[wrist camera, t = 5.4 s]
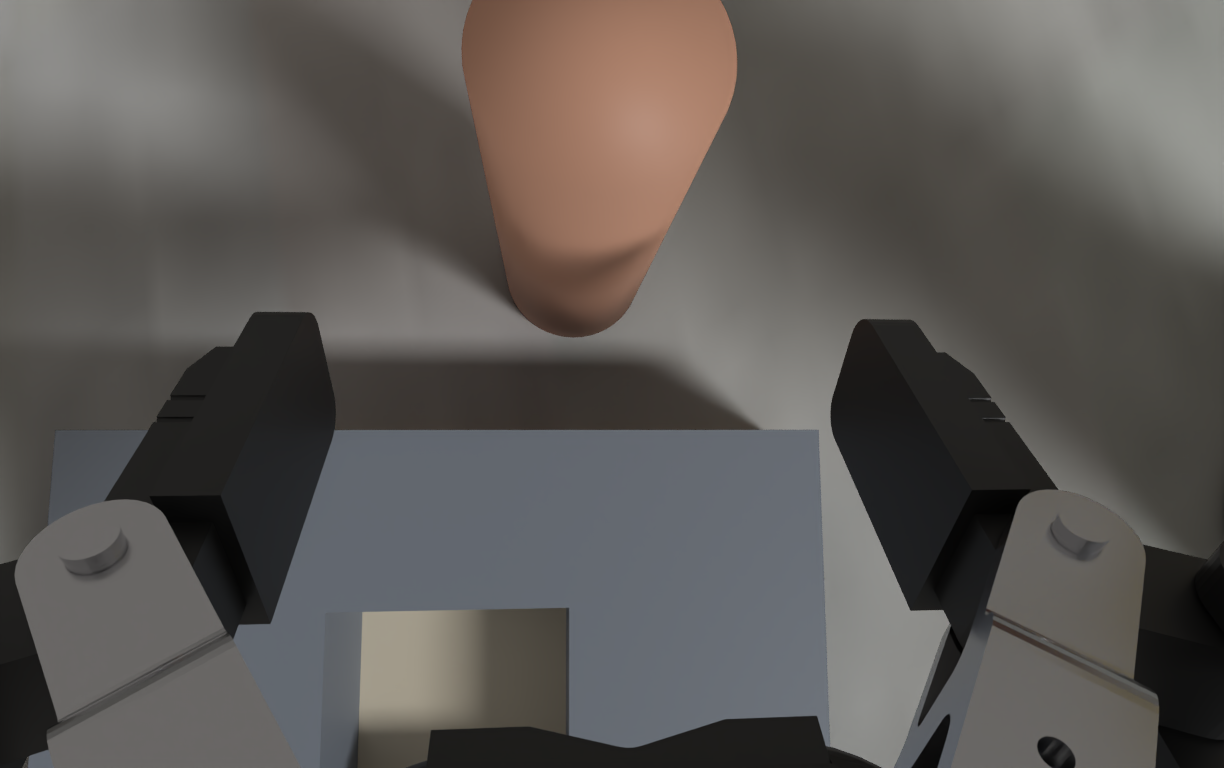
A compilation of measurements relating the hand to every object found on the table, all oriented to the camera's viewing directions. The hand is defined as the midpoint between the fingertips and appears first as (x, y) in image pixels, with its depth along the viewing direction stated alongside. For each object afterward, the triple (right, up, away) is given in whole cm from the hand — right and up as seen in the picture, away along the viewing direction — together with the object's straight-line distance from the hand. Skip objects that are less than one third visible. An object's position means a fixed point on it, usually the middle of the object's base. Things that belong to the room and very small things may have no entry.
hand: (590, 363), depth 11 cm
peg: (-1, +3, +11) cm, 12 cm away
